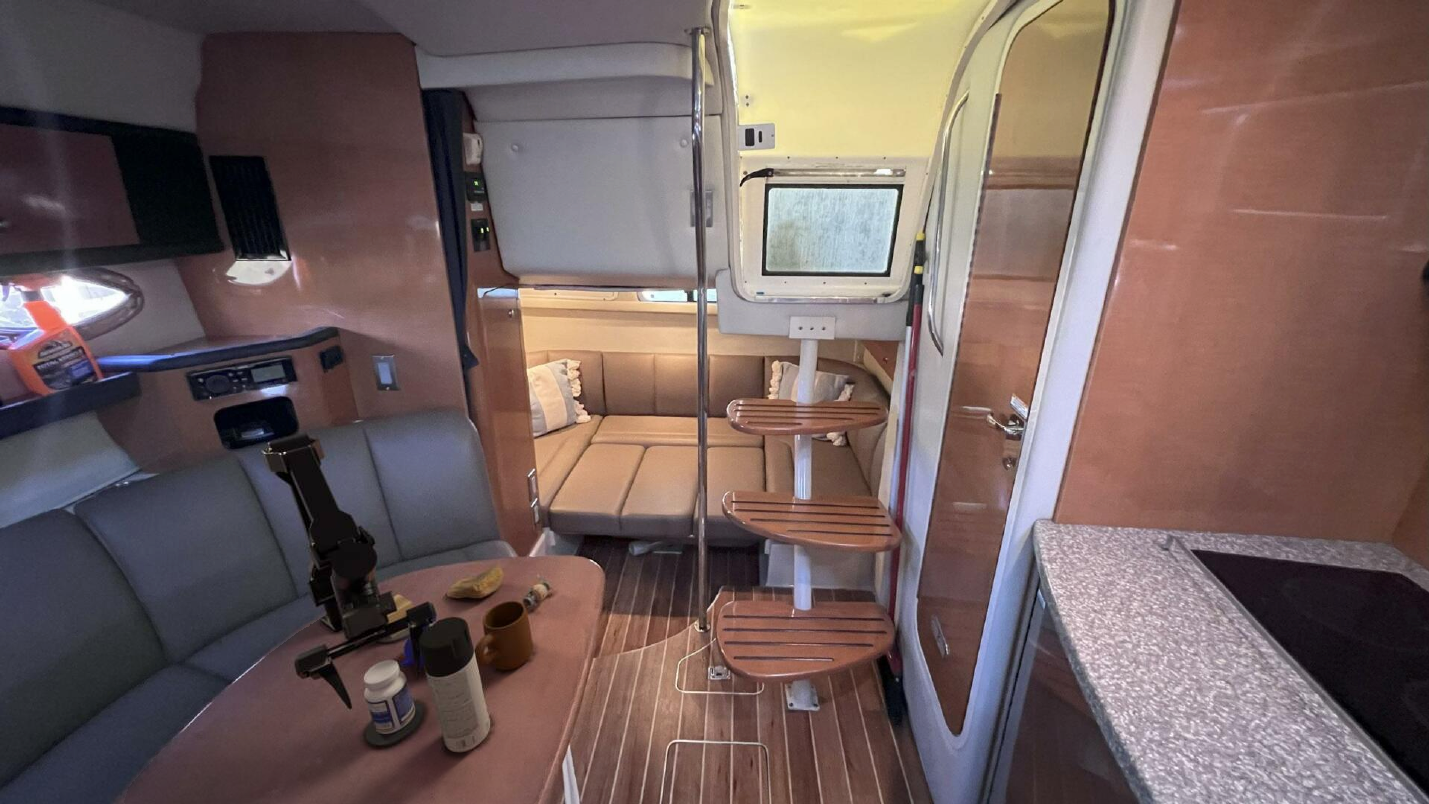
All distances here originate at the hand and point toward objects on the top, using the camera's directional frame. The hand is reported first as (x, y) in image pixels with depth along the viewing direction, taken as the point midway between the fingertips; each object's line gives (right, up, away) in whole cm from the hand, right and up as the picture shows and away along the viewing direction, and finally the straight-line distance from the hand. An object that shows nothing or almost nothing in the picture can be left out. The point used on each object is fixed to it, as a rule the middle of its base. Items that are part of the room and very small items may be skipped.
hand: (385, 691), depth 82 cm
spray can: (+12, -8, +1) cm, 14 cm away
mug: (+13, -3, +14) cm, 20 cm away
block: (-13, 0, +24) cm, 27 cm away
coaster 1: (-13, -1, +25) cm, 27 cm away
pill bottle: (-1, -7, +4) cm, 8 cm away
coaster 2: (-1, -7, +4) cm, 8 cm away
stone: (+3, +6, +32) cm, 32 cm away
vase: (+16, +7, +30) cm, 35 cm away
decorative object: (-1, -3, +16) cm, 17 cm away
